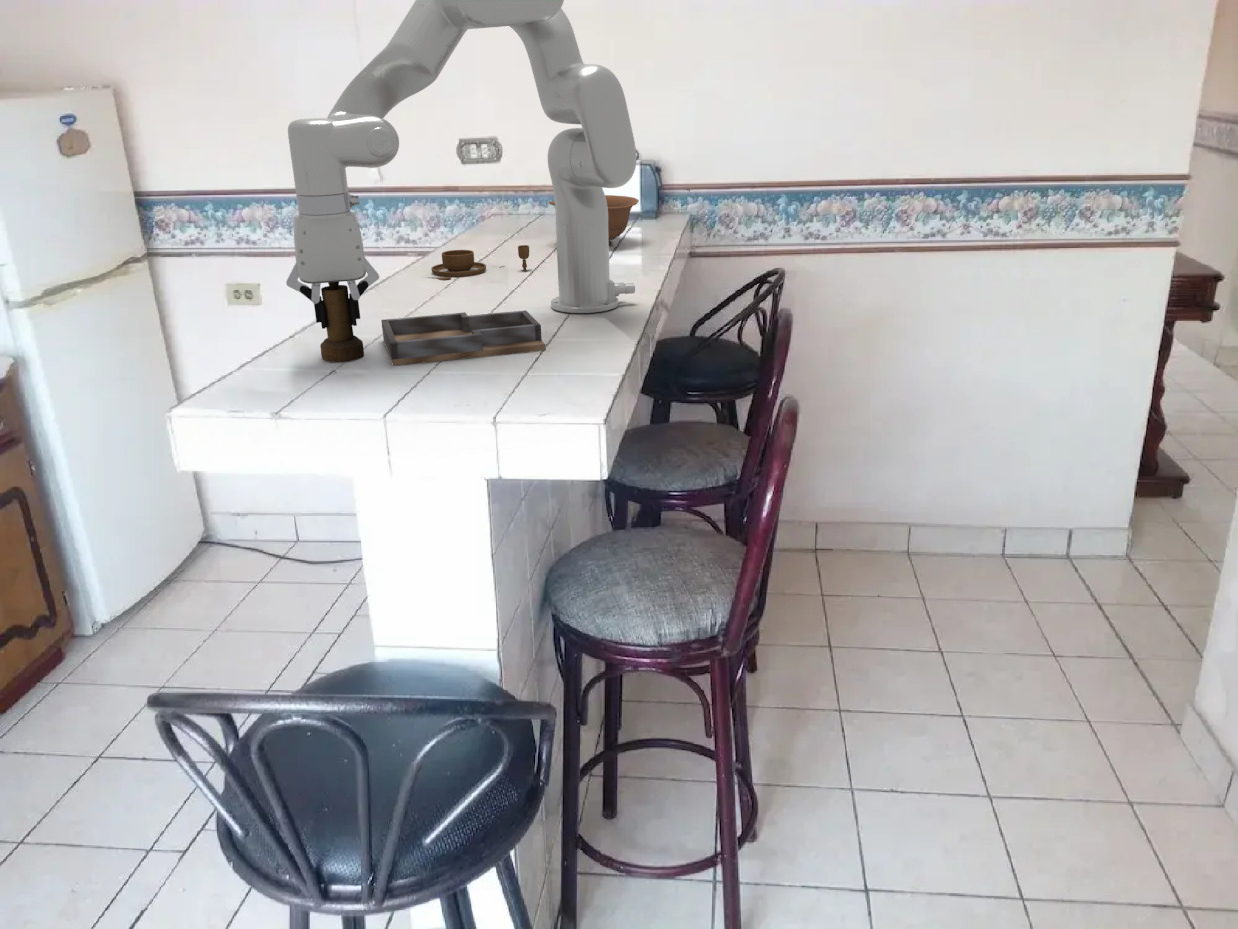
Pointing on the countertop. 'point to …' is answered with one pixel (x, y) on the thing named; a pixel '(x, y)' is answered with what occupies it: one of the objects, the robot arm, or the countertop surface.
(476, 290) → the countertop surface
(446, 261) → the place setting
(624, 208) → the bowl
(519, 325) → the keyhole board
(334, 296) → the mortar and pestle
